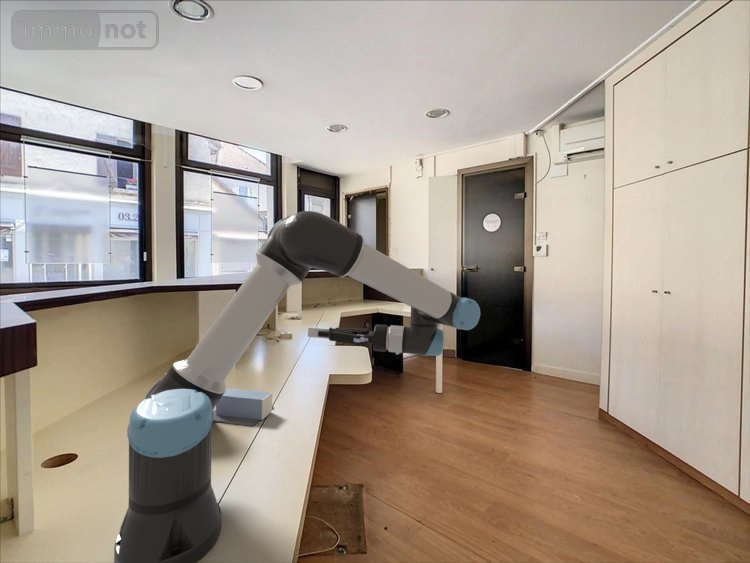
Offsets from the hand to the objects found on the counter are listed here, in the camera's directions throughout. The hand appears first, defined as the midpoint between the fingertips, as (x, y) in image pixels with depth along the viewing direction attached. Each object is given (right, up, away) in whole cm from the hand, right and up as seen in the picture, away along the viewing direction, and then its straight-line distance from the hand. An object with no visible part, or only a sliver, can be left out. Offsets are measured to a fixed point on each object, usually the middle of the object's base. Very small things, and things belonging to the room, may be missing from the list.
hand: (308, 331), depth 100 cm
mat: (-22, -26, +4) cm, 34 cm away
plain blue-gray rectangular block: (-13, -23, +3) cm, 26 cm away
